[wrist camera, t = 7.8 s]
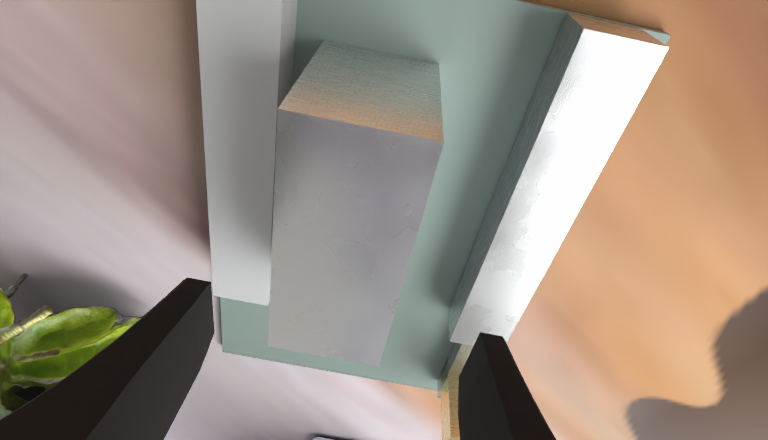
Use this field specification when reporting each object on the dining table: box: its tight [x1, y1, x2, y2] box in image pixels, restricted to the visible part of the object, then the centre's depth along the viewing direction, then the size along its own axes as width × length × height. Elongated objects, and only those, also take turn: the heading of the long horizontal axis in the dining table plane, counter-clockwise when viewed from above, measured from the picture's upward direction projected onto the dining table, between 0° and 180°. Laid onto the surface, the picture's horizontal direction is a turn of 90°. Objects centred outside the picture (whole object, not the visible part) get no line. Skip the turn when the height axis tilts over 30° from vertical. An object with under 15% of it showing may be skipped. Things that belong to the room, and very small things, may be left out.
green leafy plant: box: [0, 274, 141, 420], centre depth 24 cm, size 11×11×12 cm
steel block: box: [268, 40, 444, 366], centre depth 16 cm, size 9×4×6 cm, turn 170°
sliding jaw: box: [437, 13, 669, 440], centre depth 19 cm, size 20×2×4 cm, turn 170°
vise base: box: [196, 0, 671, 391], centre depth 20 cm, size 21×15×2 cm
